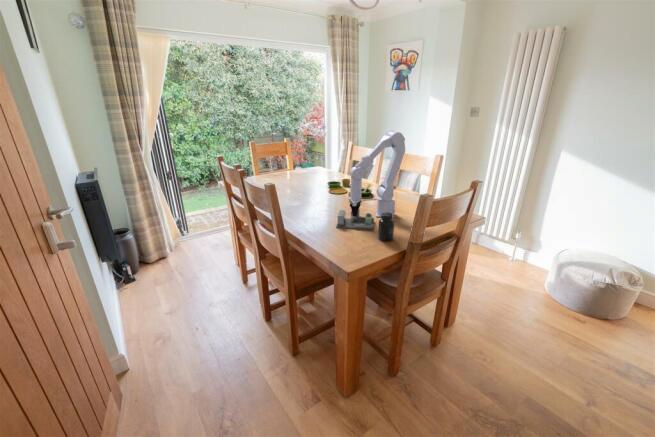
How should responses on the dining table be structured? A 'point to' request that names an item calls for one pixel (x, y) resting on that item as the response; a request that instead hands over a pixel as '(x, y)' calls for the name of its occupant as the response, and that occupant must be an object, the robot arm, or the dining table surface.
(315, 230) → the dining table surface
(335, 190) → the tableware set
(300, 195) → the dining table surface
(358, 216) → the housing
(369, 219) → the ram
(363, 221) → the press
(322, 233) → the dining table surface
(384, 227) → the supplement bottle
